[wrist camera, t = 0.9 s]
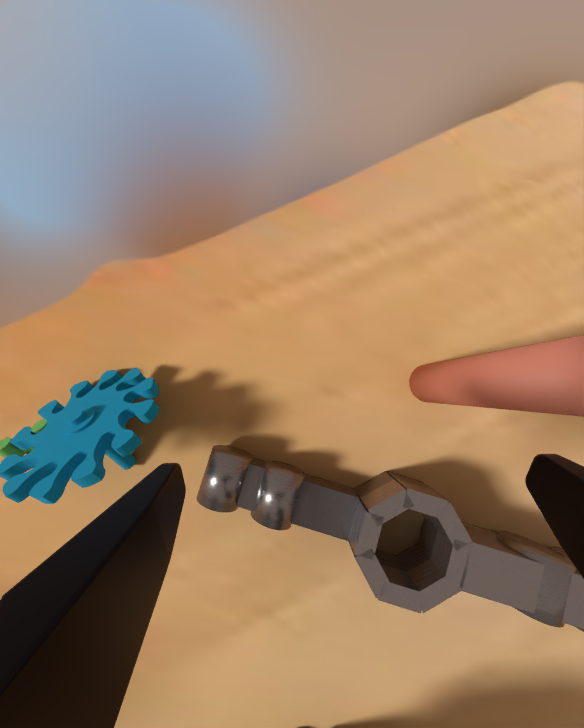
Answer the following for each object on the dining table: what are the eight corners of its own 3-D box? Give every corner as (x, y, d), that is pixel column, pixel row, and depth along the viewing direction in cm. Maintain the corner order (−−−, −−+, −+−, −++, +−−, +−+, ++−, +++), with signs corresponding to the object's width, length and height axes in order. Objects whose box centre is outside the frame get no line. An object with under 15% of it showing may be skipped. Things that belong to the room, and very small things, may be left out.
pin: (441, 406, 23) (629, 428, 10) (405, 395, 23) (546, 403, 11) (451, 370, 24) (645, 347, 11) (414, 359, 24) (564, 323, 11)
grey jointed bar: (575, 629, 22) (642, 685, 18) (196, 510, 23) (175, 537, 18) (594, 534, 23) (663, 567, 18) (225, 421, 23) (210, 428, 19)
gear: (167, 349, 22) (114, 475, 14) (202, 401, 26) (173, 522, 18) (37, 380, 23) (-75, 512, 16) (88, 425, 27) (18, 548, 20)
